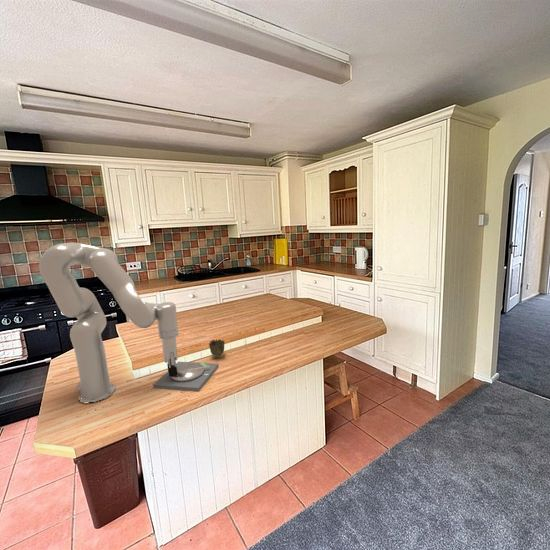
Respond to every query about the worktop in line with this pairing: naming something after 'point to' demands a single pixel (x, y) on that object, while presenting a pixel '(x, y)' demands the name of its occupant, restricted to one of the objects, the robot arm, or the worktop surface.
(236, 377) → the worktop surface
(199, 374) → the dial
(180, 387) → the plate
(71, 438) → the worktop surface
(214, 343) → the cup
